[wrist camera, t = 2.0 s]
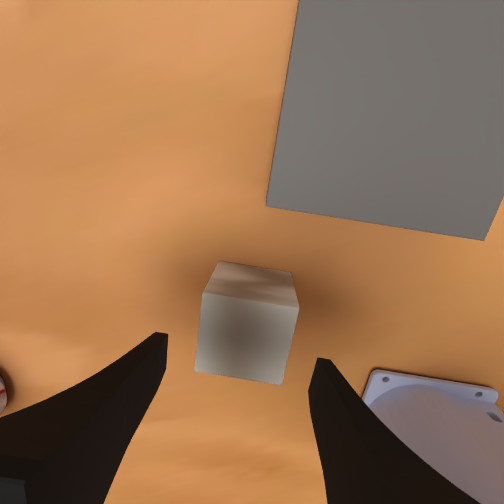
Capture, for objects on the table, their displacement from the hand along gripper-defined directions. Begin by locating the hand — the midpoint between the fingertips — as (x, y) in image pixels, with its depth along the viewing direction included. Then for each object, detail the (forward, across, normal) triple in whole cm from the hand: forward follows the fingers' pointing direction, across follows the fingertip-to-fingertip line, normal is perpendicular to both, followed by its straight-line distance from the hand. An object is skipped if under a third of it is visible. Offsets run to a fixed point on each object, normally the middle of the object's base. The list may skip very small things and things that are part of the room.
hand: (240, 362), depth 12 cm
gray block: (+7, 0, 0) cm, 7 cm away
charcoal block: (+7, -6, -13) cm, 16 cm away
